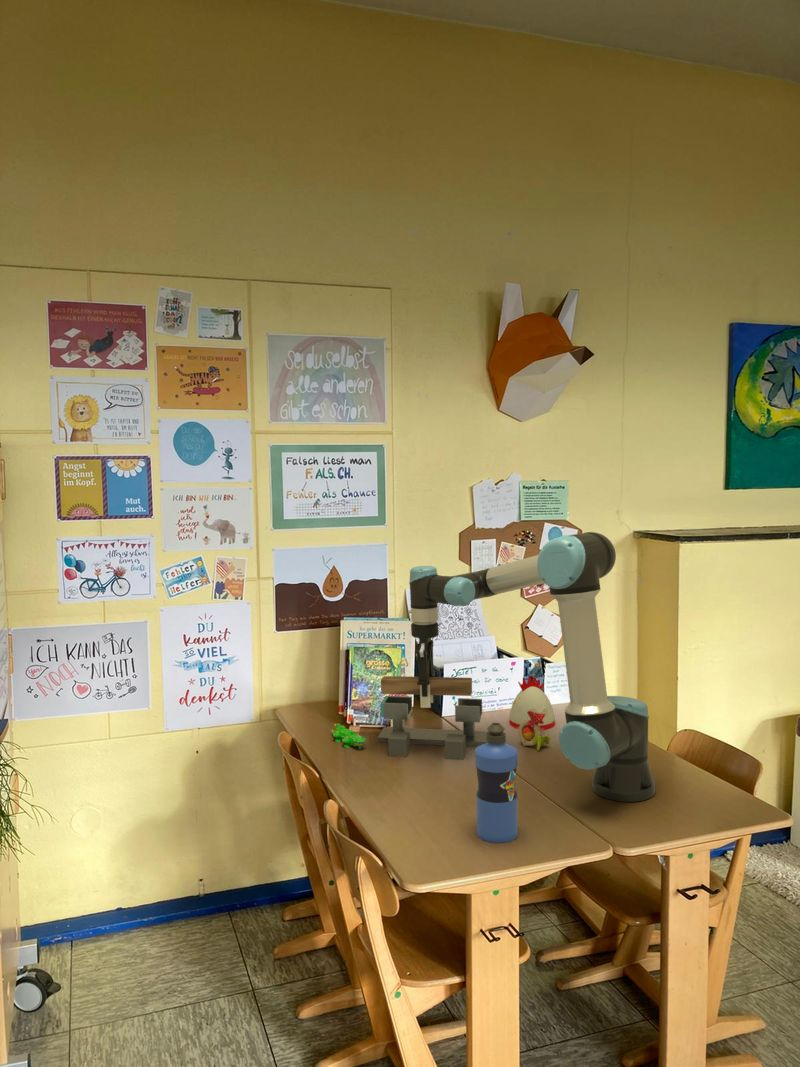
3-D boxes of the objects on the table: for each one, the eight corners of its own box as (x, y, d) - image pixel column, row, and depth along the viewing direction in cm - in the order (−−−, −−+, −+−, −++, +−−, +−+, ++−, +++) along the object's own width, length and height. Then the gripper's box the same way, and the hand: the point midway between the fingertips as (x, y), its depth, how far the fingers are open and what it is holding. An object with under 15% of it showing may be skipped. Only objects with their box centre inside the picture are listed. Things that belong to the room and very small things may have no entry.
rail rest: (463, 759, 229) (463, 742, 229) (388, 756, 233) (388, 738, 233) (465, 751, 235) (465, 734, 234) (392, 748, 239) (392, 731, 238)
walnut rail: (470, 695, 228) (470, 681, 227) (381, 693, 233) (380, 679, 232) (472, 691, 232) (471, 677, 231) (384, 689, 237) (383, 676, 236)
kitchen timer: (503, 718, 264) (503, 672, 262) (545, 715, 266) (545, 669, 265) (517, 732, 250) (517, 684, 248) (561, 729, 252) (561, 680, 251)
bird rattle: (520, 756, 236) (546, 749, 231) (506, 718, 238) (532, 711, 233) (531, 750, 241) (557, 743, 236) (517, 713, 243) (542, 705, 238)
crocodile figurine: (353, 754, 236) (352, 739, 235) (324, 736, 251) (324, 722, 251) (373, 749, 239) (372, 734, 239) (344, 732, 255) (343, 718, 254)
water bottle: (468, 836, 183) (466, 726, 181) (488, 820, 191) (486, 714, 189) (506, 847, 178) (505, 733, 176) (525, 830, 186) (524, 721, 184)
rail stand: (486, 747, 238) (486, 707, 237) (377, 742, 244) (376, 704, 243) (489, 736, 247) (488, 698, 246) (383, 732, 253) (383, 695, 252)
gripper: (416, 616, 239) (418, 695, 242) (405, 628, 223) (408, 713, 225) (442, 616, 238) (444, 696, 240) (433, 628, 221) (435, 714, 223)
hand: (427, 704), depth 232 cm, fingers closed on walnut rail, 4 cm apart
